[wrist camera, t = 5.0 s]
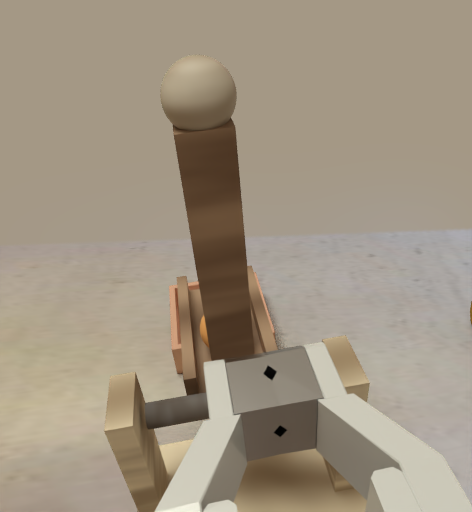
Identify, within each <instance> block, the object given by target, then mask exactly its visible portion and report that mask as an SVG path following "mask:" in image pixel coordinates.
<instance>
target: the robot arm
mask: <svg viewBox="0 0 472 512" xmlns="http://www.w3.org/2000/svg"><path fill="white" fill-rule="evenodd" d="M204 376H205V384H206V393H207V401H208V410H209V419H210V420H206V421H203V423H202V425H201V427H200V428H199V430H198V432H197V434H196V436H195V438H194V440H193V441H192V443H191V445H190V447H189V449H188V451H187V452H186V454H185V456H184V458H183V460H182V462H181V464H180V465H179V467H178V469H177V471H176V473H175V475H174V477H173V478H172V480H171V482H170V484H169V486H168V488H167V489H166V491H165V493H164V495H163V497H162V499H161V501H160V502H159V504H158V506H157V508H156V510H155V512H238V511H237V505H236V504H235V503H234V500H235V497H236V494H237V491H238V489H239V486H240V483H241V480H242V477H243V475H244V472H245V469H246V466H247V462H248V461H252V460H257V459H261V458H266V457H270V456H275V455H279V454H285V453H291V452H297V451H303V450H309V449H316V450H317V451H318V452H319V453H320V454H321V455H322V456H323V457H324V458H325V459H326V460H327V461H328V462H329V463H330V464H331V465H332V466H333V467H334V468H335V469H336V470H337V471H338V472H339V473H340V474H341V475H342V476H343V477H344V478H345V479H346V480H347V481H348V482H349V483H350V484H351V485H352V486H353V487H354V488H355V489H356V490H357V491H358V492H359V493H360V494H361V495H362V496H363V497H364V498H365V499H366V500H367V503H366V509H365V512H472V505H471V503H470V501H469V500H468V498H467V496H466V495H465V493H464V491H463V489H462V488H461V486H460V484H459V483H458V481H457V479H456V477H455V476H454V474H453V472H452V470H451V469H450V467H449V465H448V464H447V462H446V460H445V458H444V457H443V455H441V454H440V453H438V452H437V451H435V450H434V449H433V448H431V447H430V446H428V445H427V444H425V443H424V442H423V441H421V440H420V439H418V438H417V437H415V436H414V435H413V434H411V433H410V432H408V431H407V430H405V429H404V428H403V427H401V426H400V425H398V424H397V423H395V422H394V421H393V420H391V419H390V418H388V417H387V416H385V415H384V414H382V413H381V412H380V411H378V410H377V409H375V408H374V407H372V406H371V405H370V404H368V403H367V402H365V401H364V400H362V399H361V398H360V397H358V396H357V395H355V394H354V393H353V394H347V392H346V390H345V387H344V385H343V383H342V381H341V378H340V376H339V374H338V372H337V369H336V367H335V365H334V363H333V361H332V358H331V356H330V354H329V352H328V349H327V347H326V345H325V344H324V343H323V342H319V343H313V344H308V345H303V346H296V347H290V348H285V349H279V350H274V351H269V352H263V353H260V354H253V355H246V356H240V357H233V358H226V359H225V362H224V359H222V360H215V361H208V362H204Z"/></svg>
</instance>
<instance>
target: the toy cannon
mask: <svg viewBox="0 0 472 512" xmlns="http://www.w3.org/2000/svg"><path fill="white" fill-rule="evenodd" d="M470 317H471V324H472V302H471V308H470Z"/></svg>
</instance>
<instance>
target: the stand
mask: <svg viewBox="0 0 472 512" xmlns="http://www.w3.org/2000/svg"><path fill="white" fill-rule="evenodd" d="M322 342H323V343H324V344H325V345H326V347H327V349H328V352H329V354H330V356H331V358H332V361H333V363H334V365H335V367H336V369H337V372H338V374H339V376H340V378H341V381H342V383H343V385H344V387H345V390H346V392H347V394H353V393H354V394H355V395H357V396H358V397H360V398H361V399H362V400H364V401H365V402H367V398H368V391H369V384H370V382H369V380H368V378H367V377H366V375H365V373H364V371H363V369H362V367H361V365H360V363H359V361H358V359H357V357H356V355H355V353H354V351H353V349H352V347H351V345H350V343H349V341H348V339H347V337H346V335H345V336H339V337H334V338H328V339H322ZM104 432H105V434H106V436H107V439H108V441H109V443H110V446H111V448H112V450H113V453H114V455H115V457H116V460H117V462H118V464H119V467H120V469H121V471H122V474H123V476H124V478H125V481H126V483H127V486H128V488H129V490H130V493H131V495H132V497H133V500H134V502H135V504H136V507H137V512H155V510H156V508H157V506H158V504H159V502H160V501H161V499H162V497H163V495H164V493H165V491H166V489H167V488H168V486H169V484H170V482H171V480H172V478H173V477H174V475H175V473H176V471H177V469H178V467H179V465H180V464H181V462H182V460H183V458H184V456H185V454H186V452H187V451H188V449H189V447H190V445H191V443H192V441H193V440H194V439H192V440H187V441H181V442H176V443H171V444H165V445H160V446H159V445H158V441H157V438H156V435H155V432H154V429H149V430H148V428H147V425H146V420H145V401H144V397H143V394H142V391H141V388H140V385H139V382H138V379H137V375H136V372H131V373H125V374H120V375H114V376H110V383H109V392H108V401H107V411H106V420H105V429H104ZM234 503H235V504H236V505H237V511H238V512H365V509H366V503H367V500H366V499H365V498H364V497H363V496H362V495H361V494H360V493H359V492H358V491H357V490H356V489H355V488H354V487H353V486H352V485H351V484H350V483H349V482H348V481H347V480H346V479H345V478H344V477H343V476H342V475H341V474H340V473H339V472H338V471H337V470H336V469H335V468H334V467H333V466H332V465H331V464H330V463H329V462H328V461H327V460H326V459H325V458H324V457H323V456H322V455H321V454H320V453H319V452H318V451H317V450H316V449H309V450H303V451H297V452H291V453H285V454H279V455H275V456H270V457H266V458H261V459H257V460H252V461H248V462H247V466H246V469H245V472H244V475H243V477H242V480H241V483H240V486H239V489H238V491H237V494H236V497H235V500H234Z"/></svg>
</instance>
